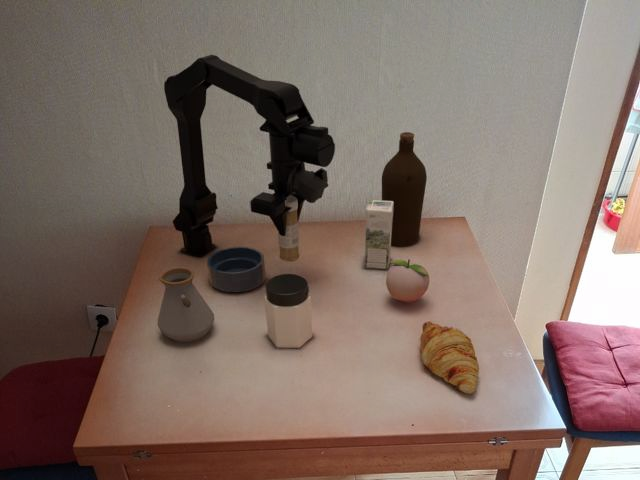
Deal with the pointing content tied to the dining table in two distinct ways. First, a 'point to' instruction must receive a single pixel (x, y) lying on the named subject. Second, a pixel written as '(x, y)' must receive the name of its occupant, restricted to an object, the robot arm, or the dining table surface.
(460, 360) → the croissant
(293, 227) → the sprinkles bottle
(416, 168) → the olive oil
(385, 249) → the syrup box
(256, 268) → the bowl
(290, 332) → the jar
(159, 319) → the coffee pot
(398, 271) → the decorative fruit
